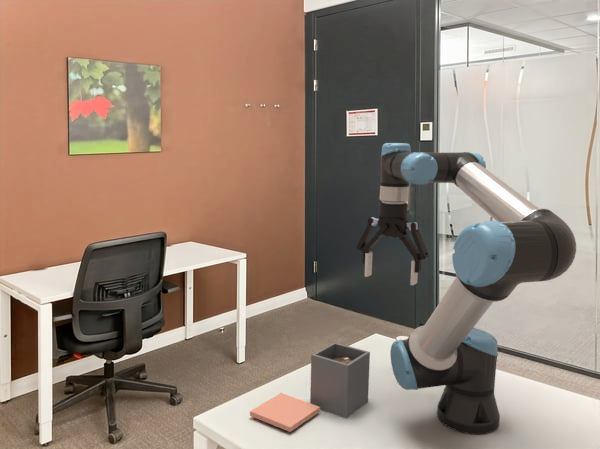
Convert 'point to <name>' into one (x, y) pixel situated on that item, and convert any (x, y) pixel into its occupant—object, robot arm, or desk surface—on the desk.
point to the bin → (339, 379)
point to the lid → (285, 412)
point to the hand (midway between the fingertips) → (390, 279)
